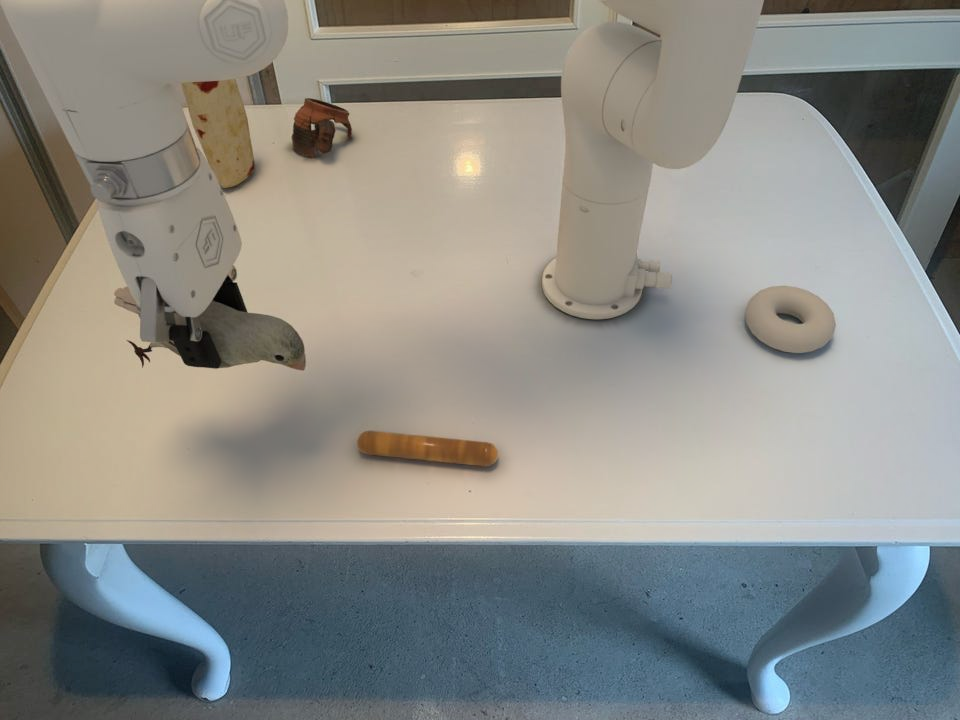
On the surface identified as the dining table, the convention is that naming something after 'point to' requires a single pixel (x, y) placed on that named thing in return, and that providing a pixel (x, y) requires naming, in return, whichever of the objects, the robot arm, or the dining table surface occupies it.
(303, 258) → the dining table surface
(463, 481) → the dining table surface
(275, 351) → the decorative bird
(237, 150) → the food model
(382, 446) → the polished stone stick
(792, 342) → the donut
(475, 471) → the dining table surface
